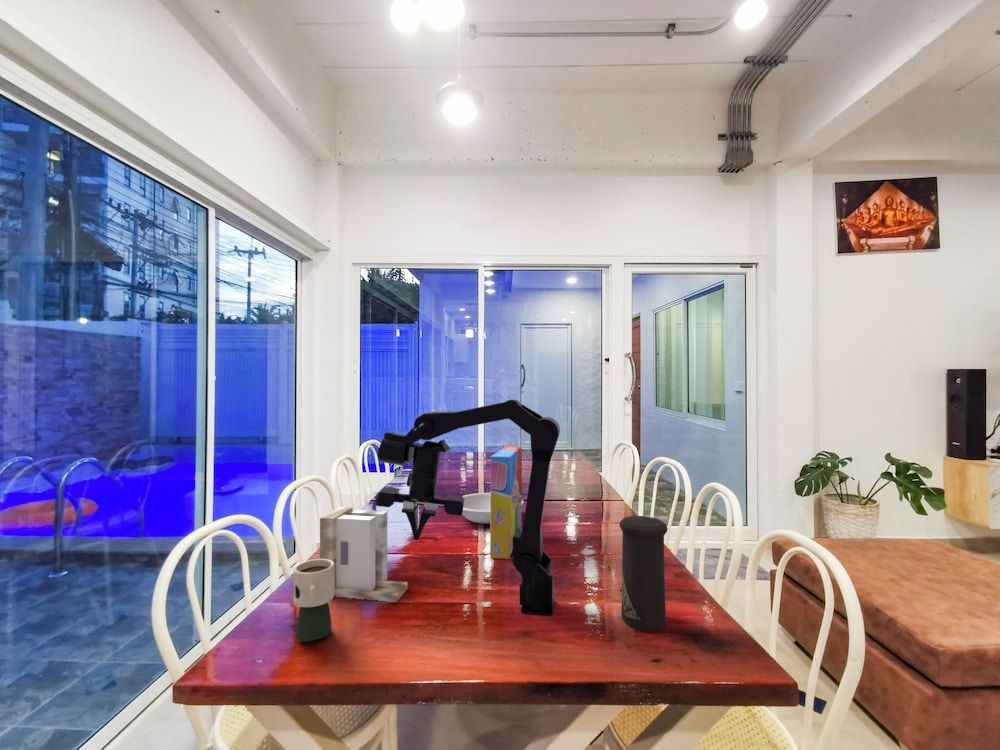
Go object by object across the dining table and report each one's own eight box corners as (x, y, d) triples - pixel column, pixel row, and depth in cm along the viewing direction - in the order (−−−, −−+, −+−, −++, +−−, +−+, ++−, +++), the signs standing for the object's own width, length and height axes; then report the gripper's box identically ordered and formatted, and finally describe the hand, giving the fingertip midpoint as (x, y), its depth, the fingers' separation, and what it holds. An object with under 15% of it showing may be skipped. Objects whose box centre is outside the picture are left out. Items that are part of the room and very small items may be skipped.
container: (630, 605, 96) (630, 510, 97) (674, 619, 91) (673, 518, 91) (612, 622, 90) (612, 519, 90) (658, 638, 84) (657, 529, 84)
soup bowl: (443, 515, 161) (443, 496, 161) (505, 507, 171) (505, 489, 171) (467, 537, 139) (467, 515, 139) (536, 526, 149) (536, 506, 149)
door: (375, 587, 104) (375, 516, 104) (369, 593, 101) (369, 520, 101) (342, 584, 105) (342, 514, 105) (335, 590, 102) (335, 518, 102)
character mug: (295, 624, 89) (295, 557, 89) (334, 618, 91) (334, 552, 91) (290, 656, 79) (290, 580, 79) (334, 648, 81) (334, 574, 81)
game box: (510, 560, 121) (509, 457, 121) (489, 558, 122) (489, 456, 122) (522, 534, 141) (521, 445, 141) (504, 533, 142) (504, 445, 142)
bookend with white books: (413, 582, 108) (413, 509, 108) (396, 602, 98) (396, 522, 98) (342, 576, 111) (342, 506, 111) (319, 595, 101) (319, 518, 101)
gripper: (468, 466, 109) (460, 531, 109) (390, 457, 108) (382, 522, 108) (466, 477, 98) (457, 549, 98) (379, 467, 97) (370, 539, 97)
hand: (416, 539), depth 101 cm, fingers closed
